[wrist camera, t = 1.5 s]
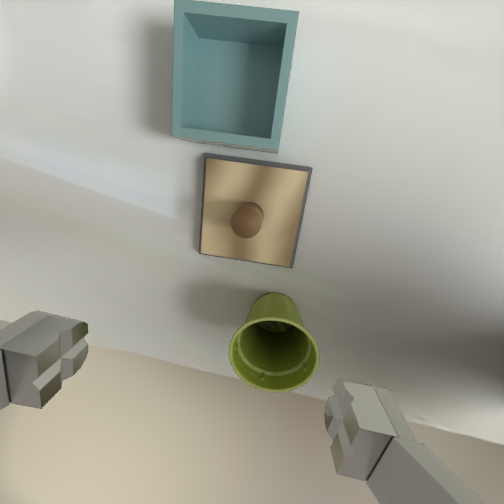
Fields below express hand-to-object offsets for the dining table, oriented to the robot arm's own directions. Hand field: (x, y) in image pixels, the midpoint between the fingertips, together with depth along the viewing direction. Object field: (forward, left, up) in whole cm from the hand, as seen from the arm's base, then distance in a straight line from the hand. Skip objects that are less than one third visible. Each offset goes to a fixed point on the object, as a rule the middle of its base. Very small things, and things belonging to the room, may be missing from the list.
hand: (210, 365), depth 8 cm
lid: (+1, -1, -22) cm, 22 cm away
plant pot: (-4, +12, -23) cm, 26 cm away
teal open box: (+4, -13, -23) cm, 27 cm away
